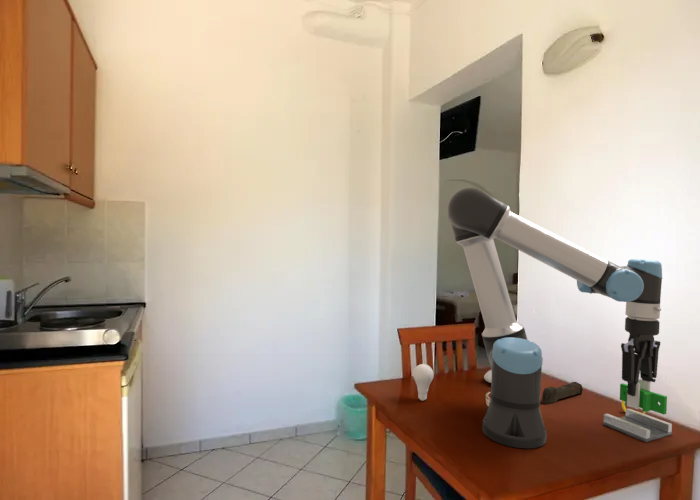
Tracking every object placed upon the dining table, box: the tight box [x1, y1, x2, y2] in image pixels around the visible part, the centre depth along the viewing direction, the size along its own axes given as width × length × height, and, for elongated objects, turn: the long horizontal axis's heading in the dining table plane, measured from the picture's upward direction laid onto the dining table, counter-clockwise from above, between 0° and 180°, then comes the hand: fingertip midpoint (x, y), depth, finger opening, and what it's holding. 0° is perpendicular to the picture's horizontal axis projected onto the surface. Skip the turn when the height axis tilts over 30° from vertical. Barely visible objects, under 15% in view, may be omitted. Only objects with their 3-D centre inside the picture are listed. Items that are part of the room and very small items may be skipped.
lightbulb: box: [412, 363, 435, 401], centre depth 132 cm, size 6×6×11 cm
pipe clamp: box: [619, 383, 668, 415], centre depth 116 cm, size 11×4×5 cm, turn 28°
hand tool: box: [541, 381, 584, 404], centre depth 138 cm, size 19×4×5 cm, turn 121°
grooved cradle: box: [603, 408, 673, 443], centre depth 116 cm, size 11×11×3 cm
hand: (638, 405), depth 116 cm, fingers closed on pipe clamp, 4 cm apart
